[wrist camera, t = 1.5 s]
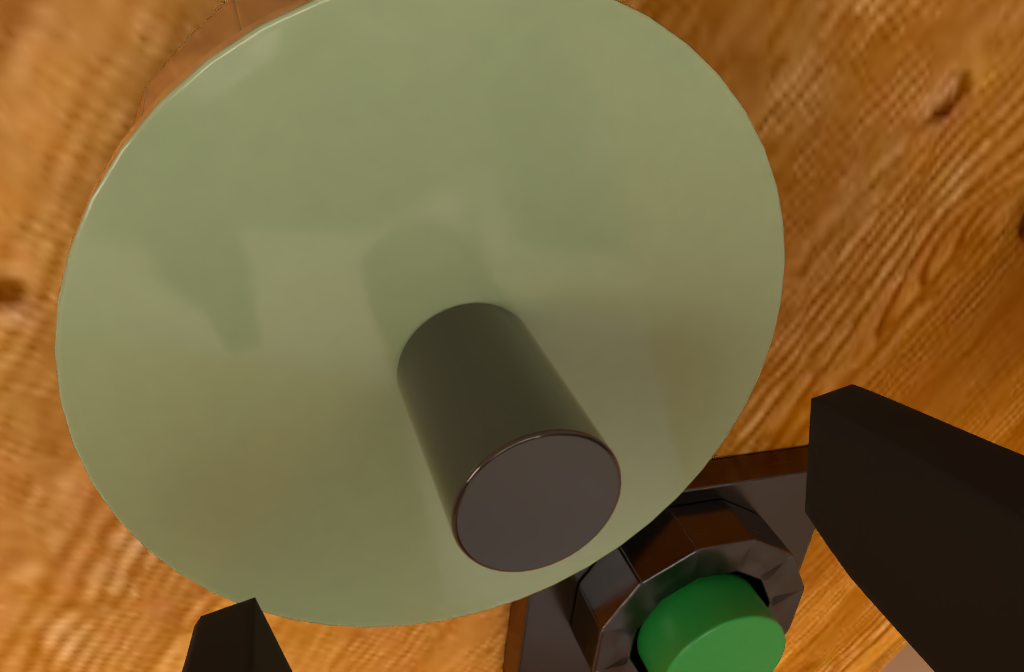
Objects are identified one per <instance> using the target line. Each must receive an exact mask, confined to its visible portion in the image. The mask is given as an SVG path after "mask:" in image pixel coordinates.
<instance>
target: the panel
mask: <svg viewBox="0 0 1024 672" xmlns="http://www.w3.org/2000/svg"><path fill="white" fill-rule="evenodd" d="M808 448H809V447H802V448H794V449H787V450H780V451H773V452H766V453H759V454H752V455H745V456H737V457H730V458H723V459H716V460H709V462H708V463H707V464H706V466H705V467H704V469H703V470H702V471H701V472H700V473H699V474H698V475H697V476H696V478H695V479H694V480H693V481H692V482H691V483H690V484H689V485H688V486H687V488H686V489H685V490H684V491H683V492H682V493H681V494H680V495H679V496H678V497H677V498H676V499H675V500H674V501H673V502H672V503H671V504H670V505H669V506H668V507H667V508H666V509H664V510H663V511H662V512H661V513H660V514H659V515H658V516H657V517H656V518H655V519H654V520H653V521H652V522H650V523H649V524H648V525H647V526H645V527H644V528H643V529H642V530H640V531H639V532H638V533H636V534H635V535H634V536H632V537H631V538H630V539H629V540H627V541H626V542H625V543H623V544H622V545H621V546H619V547H618V548H616V549H615V550H613V551H612V552H610V553H609V554H607V555H606V556H604V557H602V558H601V559H599V560H598V561H596V562H595V563H593V564H592V565H590V566H589V567H587V568H585V569H583V570H581V571H579V572H577V573H575V574H574V575H572V576H570V577H568V578H566V579H564V580H562V581H560V582H559V583H557V584H555V585H552V586H550V587H548V588H545V589H543V590H541V591H538V592H536V593H534V594H531V595H529V596H527V597H524V598H522V599H520V600H517V601H514V602H512V606H511V614H510V621H509V629H508V636H507V644H506V651H505V659H504V666H503V672H648V670H647V668H646V667H645V665H644V663H643V661H642V659H641V657H640V655H639V653H638V649H637V637H638V632H639V629H640V627H641V625H642V623H643V622H644V621H645V620H646V618H647V617H648V616H649V615H650V614H651V613H652V611H653V610H654V609H655V608H656V607H657V606H658V604H659V603H660V602H661V601H662V600H663V599H665V598H666V597H668V596H670V595H671V594H673V593H675V592H676V591H678V590H680V589H681V588H683V587H685V586H687V585H688V584H690V583H692V582H693V581H695V580H697V579H699V578H704V577H709V576H714V575H720V574H725V573H726V574H733V575H737V576H739V577H741V578H743V579H745V580H746V581H747V582H748V583H749V584H750V585H751V586H752V587H753V589H754V590H755V591H756V593H757V594H758V595H759V597H760V598H761V599H762V601H763V602H764V603H765V605H766V606H767V607H768V609H769V610H770V611H771V613H772V614H773V615H774V617H775V618H776V619H777V621H778V622H779V623H780V625H781V626H782V628H783V630H784V634H786V633H787V631H788V630H789V629H790V626H791V623H792V620H793V618H794V615H795V612H796V610H797V607H798V604H799V601H800V599H801V596H802V593H803V591H804V585H803V583H802V580H801V577H800V574H799V570H800V568H801V565H802V562H803V559H804V556H805V554H806V551H807V548H808V545H809V542H810V540H811V537H812V534H813V531H814V529H815V526H814V525H813V523H812V522H811V520H810V519H809V517H808V516H807V514H806V513H805V498H806V481H807V464H808Z"/></svg>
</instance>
